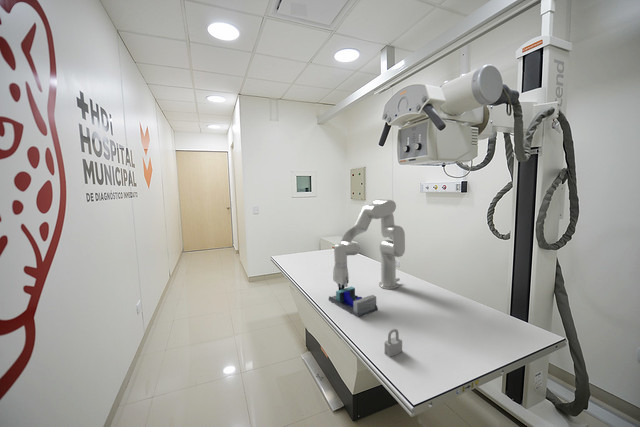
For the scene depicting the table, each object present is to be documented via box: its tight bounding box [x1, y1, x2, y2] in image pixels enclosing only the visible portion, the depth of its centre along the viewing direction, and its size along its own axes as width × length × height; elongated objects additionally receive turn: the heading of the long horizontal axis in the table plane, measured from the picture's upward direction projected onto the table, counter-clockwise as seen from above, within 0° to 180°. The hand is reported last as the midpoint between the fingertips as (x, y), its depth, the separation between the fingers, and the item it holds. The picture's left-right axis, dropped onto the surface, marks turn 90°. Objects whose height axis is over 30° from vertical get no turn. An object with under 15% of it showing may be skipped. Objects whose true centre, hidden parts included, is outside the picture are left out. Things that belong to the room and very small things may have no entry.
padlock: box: [383, 328, 403, 358], centre depth 107 cm, size 7×4×10 cm, turn 118°
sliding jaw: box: [335, 286, 356, 302], centre depth 156 cm, size 12×3×6 cm, turn 124°
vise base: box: [328, 294, 379, 318], centre depth 151 cm, size 14×27×8 cm, turn 34°
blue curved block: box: [344, 291, 363, 306], centre depth 149 cm, size 12×4×6 cm, turn 35°
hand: (341, 293), depth 159 cm, fingers closed
